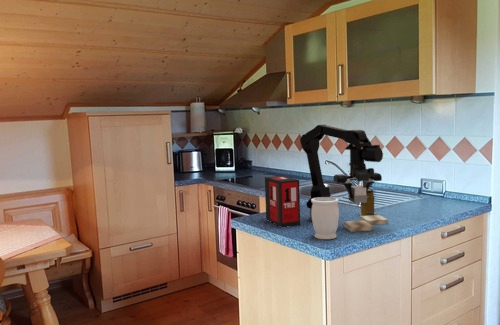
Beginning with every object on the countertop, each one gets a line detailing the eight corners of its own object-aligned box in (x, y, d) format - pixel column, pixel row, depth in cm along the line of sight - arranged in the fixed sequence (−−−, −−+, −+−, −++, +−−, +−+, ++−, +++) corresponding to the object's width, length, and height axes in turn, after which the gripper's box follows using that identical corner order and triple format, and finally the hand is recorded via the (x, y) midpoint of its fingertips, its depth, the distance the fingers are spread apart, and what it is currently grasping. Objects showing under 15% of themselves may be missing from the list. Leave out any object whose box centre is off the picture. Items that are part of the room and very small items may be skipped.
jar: (309, 239, 170) (308, 201, 168) (315, 232, 179) (314, 196, 178) (336, 241, 166) (336, 202, 164) (341, 234, 176) (340, 197, 174)
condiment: (358, 214, 210) (357, 189, 208) (375, 213, 210) (375, 188, 209) (363, 217, 202) (363, 191, 201) (381, 216, 203) (381, 190, 202)
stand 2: (367, 225, 188) (367, 220, 188) (359, 220, 197) (359, 216, 197) (387, 224, 189) (387, 219, 189) (379, 219, 198) (379, 214, 197)
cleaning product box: (300, 225, 192) (299, 179, 190) (281, 227, 189) (280, 181, 187) (283, 217, 207) (282, 175, 205) (266, 220, 204) (264, 177, 202)
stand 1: (350, 231, 179) (350, 226, 179) (343, 226, 188) (343, 221, 188) (372, 230, 180) (372, 225, 180) (364, 224, 189) (364, 220, 189)
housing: (354, 203, 179) (354, 188, 178) (348, 199, 186) (348, 185, 185) (367, 202, 179) (366, 187, 179) (360, 199, 186) (360, 185, 186)
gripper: (341, 163, 172) (341, 203, 173) (387, 161, 174) (387, 200, 175) (332, 161, 183) (333, 198, 184) (376, 159, 185) (376, 195, 186)
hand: (357, 198), depth 182 cm, fingers closed on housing, 5 cm apart
